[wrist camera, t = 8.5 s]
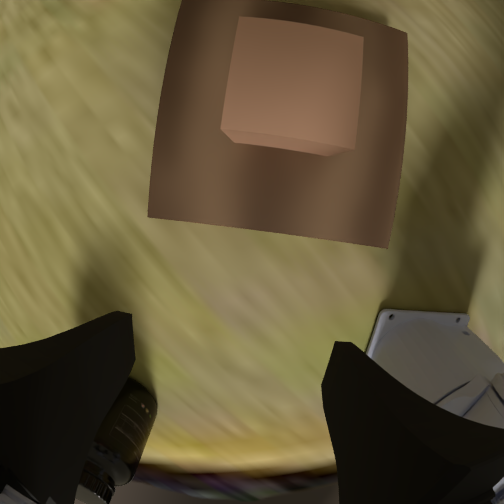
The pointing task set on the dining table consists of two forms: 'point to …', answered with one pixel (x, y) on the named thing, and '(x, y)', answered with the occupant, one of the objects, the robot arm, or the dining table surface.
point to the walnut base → (269, 158)
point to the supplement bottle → (117, 444)
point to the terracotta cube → (293, 87)
